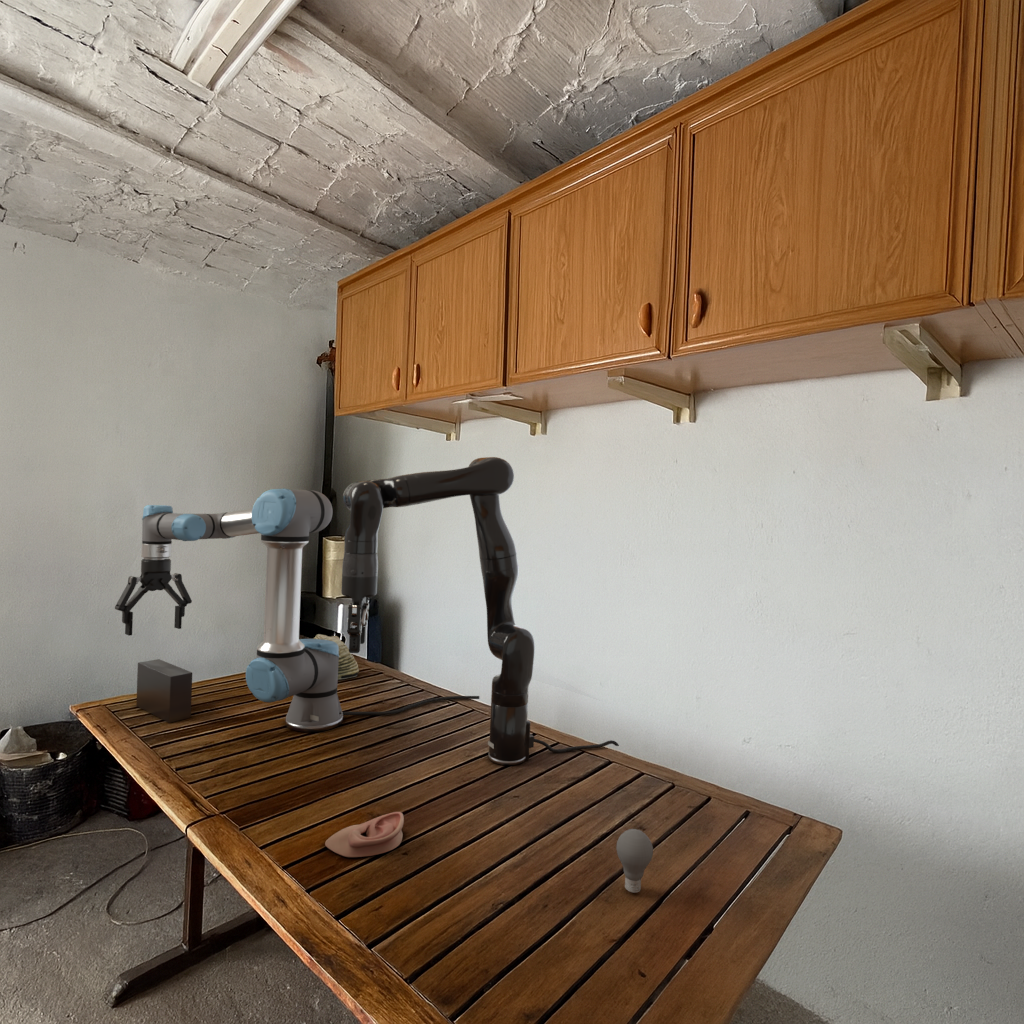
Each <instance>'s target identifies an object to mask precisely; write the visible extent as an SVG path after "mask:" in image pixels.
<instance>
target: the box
mask: <svg viewBox="0 0 1024 1024" xmlns="http://www.w3.org/2000/svg"><path fill="white" fill-rule="evenodd" d="M136 674H137V675H136V678H137V679H136V701H135V702H136V703H135V704H136V705H135V706H136V707H137V708H140V709H141V710H143V711H145V712H147V713H149V714H151V715H153V716H154V717H157V718H159V719H160V720H162V721H164V722H166V723H168V724H171V723H174V722H178V721H183V720H187V719H190V718H192V697H193V696H192V695H193V672H192V671H189V670H187V669H185V668H182V667H179V666H177V665H174V664H172V663H170V662H167V661H164V660H162V659H160V658H158V659H151V660H146V661H140V662H137V671H136Z"/></svg>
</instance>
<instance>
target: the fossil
mask: <svg viewBox="0 0 1024 1024" xmlns="http://www.w3.org/2000/svg"><path fill="white" fill-rule="evenodd" d="M312 639H322V640H329V641H333V642H335V643H337V645H338V647H339V663H338V681H339V680H345V679H350V678H356V677H357V676H358V675H359V672H360V669H359V665H358V662H357V660H356V659H355V656H354V655H353V653H350V652H349V647H348V646H347V644H346V643H345V642H344V641H342V640H341V639H340V637H339V636H337V635H331V636H328V635H326V634H321V633H318V634H316V635H315V637H313V638H312Z"/></svg>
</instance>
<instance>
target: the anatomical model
mask: <svg viewBox="0 0 1024 1024" xmlns="http://www.w3.org/2000/svg"><path fill="white" fill-rule="evenodd" d="M404 823H405V818H404V814H403V812H401V811H393V812H390V813H386V814H383V815H380V816H377V817H375V818H372V819H370V820H368V821H365V822H362V823H360V824H353V825H350V826H349V825H348V826H347V827H344V828H342V829H340V830H339V831H337V832H335V833H334V834H332V835H331V836H329V837H328V839H326V841H325V843H324V845H325V847H326V848H327V849H328V850H330V851H332V852H334V853H335V854H337V855H340V856H342V857H345V858H362V857H363V858H364V857H371V856H376V855H381V854H385V853H387V852H390V851H393V850H394V849H396V848H397V847H399V846H400V845H401V843H402V840H403V835H404V834H403V831H402V829H403V828H404Z"/></svg>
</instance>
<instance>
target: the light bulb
mask: <svg viewBox="0 0 1024 1024" xmlns="http://www.w3.org/2000/svg"><path fill="white" fill-rule="evenodd" d="M615 849H616V854H617V857H618V859H619V861H620V863H621V865H622V867H623V873H624V874H623V875H624V876H625V878H624V888H625V890H627V891H628V892H630V893H634V894H635V893H639V892H640V891H641V889H642V887H641V886H642V879H643V877H644V875H645V871H646V868H647V867H648V866H649V864H650V863H651V861H652V859H653V855H654V847H653V843H652V841H651V838H649V836H648V835H647V834H646V833H645V832H643V831H642V830H641V829H636V828H629V829H627V830H625V831H623V832H622V833H621V834H620V835H619V837H618V839H617V841H616V847H615Z"/></svg>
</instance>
